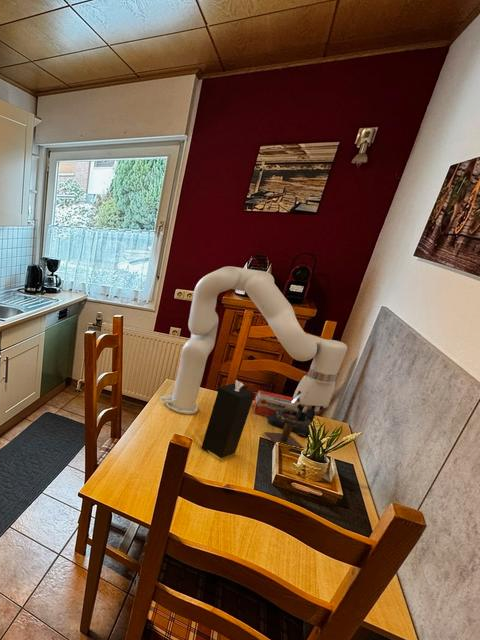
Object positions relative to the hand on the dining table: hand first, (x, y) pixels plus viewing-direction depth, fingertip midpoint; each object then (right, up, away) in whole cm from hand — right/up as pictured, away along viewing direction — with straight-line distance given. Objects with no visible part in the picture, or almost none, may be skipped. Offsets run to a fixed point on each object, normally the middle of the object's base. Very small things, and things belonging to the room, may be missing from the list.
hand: (303, 420), depth 142 cm
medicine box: (+6, -1, +24) cm, 25 cm away
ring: (-4, +1, 0) cm, 4 cm away
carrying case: (+5, -6, +14) cm, 16 cm away
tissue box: (-33, -11, -3) cm, 35 cm away
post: (-5, -9, +4) cm, 11 cm away
